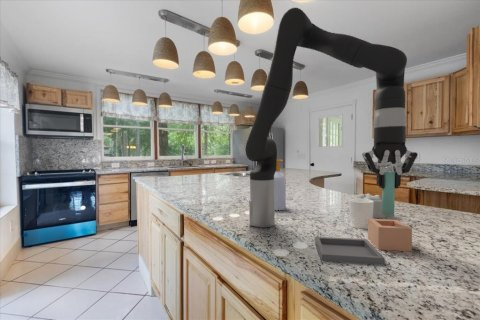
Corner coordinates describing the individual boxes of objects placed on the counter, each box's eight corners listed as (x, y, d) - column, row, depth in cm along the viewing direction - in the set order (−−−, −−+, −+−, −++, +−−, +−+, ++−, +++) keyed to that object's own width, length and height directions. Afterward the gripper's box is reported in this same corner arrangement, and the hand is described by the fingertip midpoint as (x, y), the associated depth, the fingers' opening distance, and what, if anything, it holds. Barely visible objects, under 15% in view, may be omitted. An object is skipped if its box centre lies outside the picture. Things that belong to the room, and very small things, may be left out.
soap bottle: (275, 212, 107) (275, 160, 106) (264, 207, 116) (263, 159, 115) (290, 209, 111) (290, 159, 110) (278, 205, 119) (278, 159, 119)
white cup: (377, 232, 79) (377, 203, 78) (351, 231, 80) (351, 202, 80) (369, 225, 86) (369, 198, 86) (346, 224, 88) (346, 197, 88)
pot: (378, 252, 63) (378, 227, 63) (367, 241, 71) (367, 218, 71) (411, 254, 62) (411, 228, 61) (396, 243, 70) (397, 219, 69)
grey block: (362, 218, 95) (362, 197, 95) (349, 210, 108) (349, 192, 108) (389, 218, 95) (389, 197, 94) (372, 210, 108) (372, 192, 107)
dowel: (384, 215, 65) (385, 172, 64) (379, 212, 68) (380, 171, 67) (396, 216, 64) (397, 172, 64) (391, 213, 67) (392, 171, 67)
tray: (321, 264, 57) (321, 254, 57) (315, 245, 69) (315, 236, 69) (384, 268, 55) (384, 258, 55) (366, 247, 66) (366, 239, 66)
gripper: (366, 125, 63) (366, 189, 63) (425, 123, 60) (424, 190, 61) (358, 128, 70) (357, 185, 71) (410, 126, 68) (409, 186, 68)
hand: (388, 187), depth 66 cm, fingers closed on dowel, 3 cm apart
